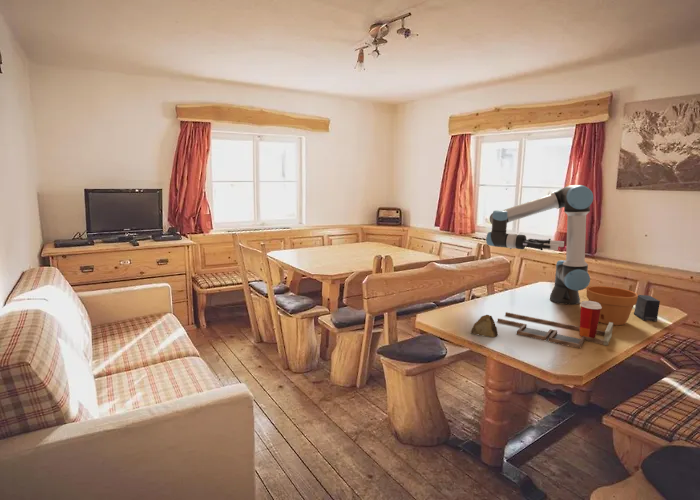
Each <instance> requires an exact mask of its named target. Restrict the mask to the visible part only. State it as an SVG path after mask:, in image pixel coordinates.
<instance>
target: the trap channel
mask: <svg viewBox="0 0 700 500" xmlns="http://www.w3.org/2000/svg"><path fill="white" fill-rule="evenodd" d="M505 316H506V317H511V318H516V319H519V320H520V319H521V320H525V321H531V322H534V323H535V322H536V323H541V324H546V325H550V326H555V327H560V328H565V329H570V330H574V331H575V330H576V331H579V332H580V325H579V326H578V325H573V324H567V323H563V322H558V321H553V320H548V319H543V318H538V317H532V316H528V315H522V314H518V313H513V312H508V311H506V312H505ZM497 323H501V324H506V325H511V326H514V327H515V326H516V327H519V328H518V329H517V330H516V335H518V334H519V335H518V336H522V335H523V336H524V337H526V338H531V337H532V339H535V338H536V340H540V339H541V340H540V341H544V340H546V341H548V342H549V341H550V343H553V342H555V343H554V344H558V343H559V345H562V344H563V346H567V345H569V346H568V347H571V346H573V347H572V348H576V347H578V348H577V349H581V348H580V347H582V346H583V344H584V343H583V342H585V341H586V342H590V343H595V344H600V345H603V346H609V343H610V342H611V339H612V336H613V328H614V325H613V323H611V322H609V324H607V326H606V329H605V330H603V331H602V330H599V329H597V331H596V335H600V336H603V337H604V338H603V339H600V338H596V337H595V338H591V337H586V336H581V338H577V337H572V336H567V335H563V334H560V333H558V330H555V329H552V328H549V330H547V331H545V330H541V329H535V328H530V327H528V326H527V325H528V324H527V323H522V322H518V321H512V320H509V319H503V318H497ZM547 338H548V339H547Z"/></svg>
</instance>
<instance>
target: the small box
mask: <svg viewBox="0 0 700 500" xmlns="http://www.w3.org/2000/svg"><path fill="white" fill-rule="evenodd" d="M660 303H661V301H660V300H659V299H657V298H654V297H653V296H651V295H644V294H638V298H637V302H636V304H635V305H634V312H633V315H635V316H636V317H637V318H639V319H641V320H642V321H648V322H658V315H659V310H660Z"/></svg>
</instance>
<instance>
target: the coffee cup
mask: <svg viewBox="0 0 700 500" xmlns="http://www.w3.org/2000/svg"><path fill="white" fill-rule="evenodd" d="M579 306H580V317H579V327H580V331H579V336H580V337H582V336H586V337H591V338H595V339H596V336H597V334H596V331H597V330H598V327H599V322H598V321H599V315H600V310H601V308H602V307H601V305H600V304H599V303H597V302H594V301H589V300H583V301H580V303H579Z"/></svg>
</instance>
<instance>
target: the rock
mask: <svg viewBox="0 0 700 500" xmlns="http://www.w3.org/2000/svg"><path fill="white" fill-rule="evenodd" d="M472 333H473V334H472ZM498 333H499V332H498V328H497V326H496V323H495V320H494V318H493V316H492V315H489V314H486V315H482V316H480V318H479V319H478V320H477V321H476V322H475V323H474V324H473V326H472V327H471V331H470V334H472V335H476V334H479V335H478V336H482V335H484V336H483V337H488V336H489V338H495V337H498V336H499V334H498ZM497 335H498V336H497Z"/></svg>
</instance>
